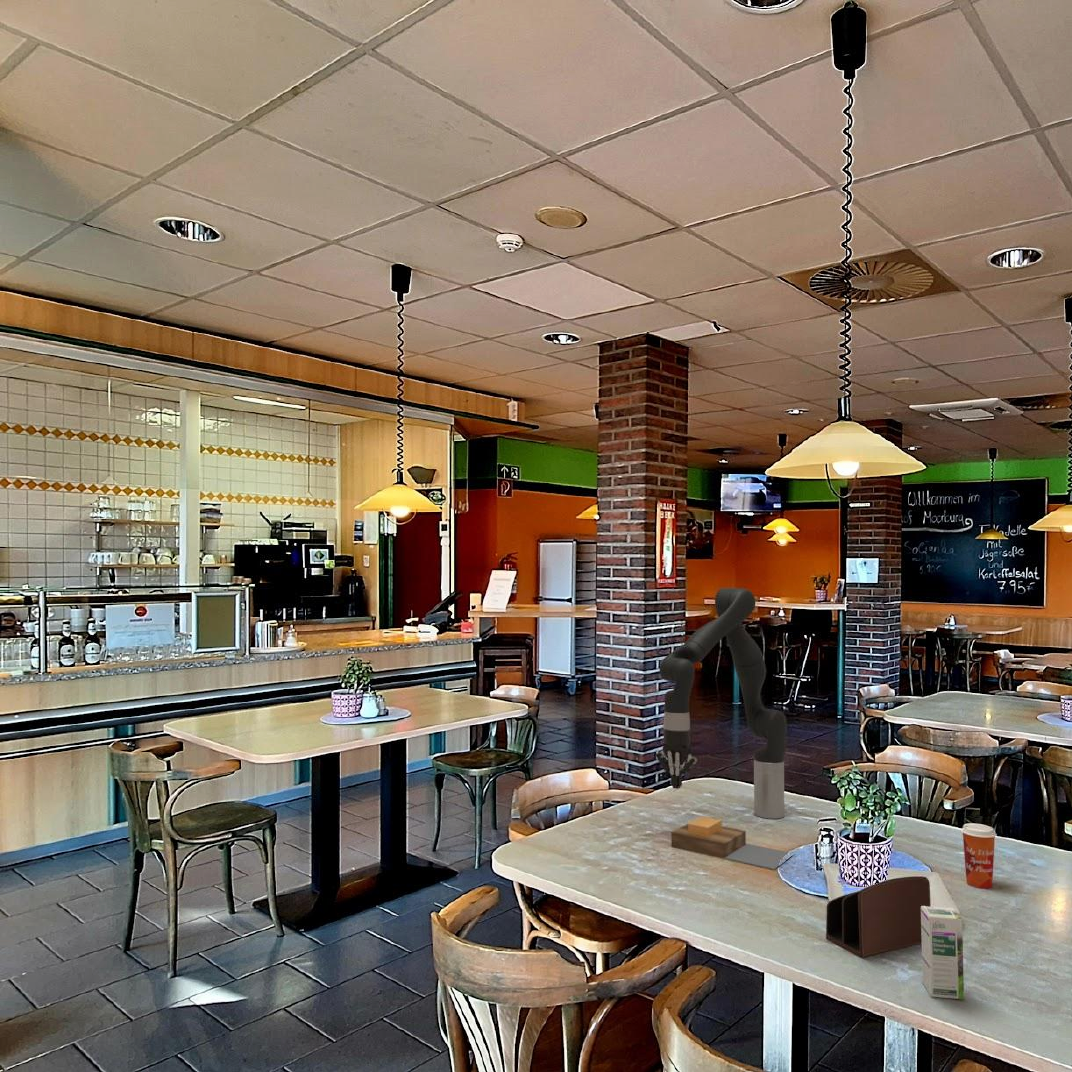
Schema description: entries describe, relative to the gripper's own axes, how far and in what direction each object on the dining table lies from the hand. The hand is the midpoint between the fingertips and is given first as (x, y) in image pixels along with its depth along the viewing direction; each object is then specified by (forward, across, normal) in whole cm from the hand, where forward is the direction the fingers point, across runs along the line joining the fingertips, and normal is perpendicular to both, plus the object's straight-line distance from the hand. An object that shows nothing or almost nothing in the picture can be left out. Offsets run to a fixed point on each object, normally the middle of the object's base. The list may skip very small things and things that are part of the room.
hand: (676, 787), depth 244 cm
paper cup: (+14, -76, -14) cm, 79 cm away
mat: (+14, -25, 0) cm, 29 cm away
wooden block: (+15, -10, 0) cm, 18 cm away
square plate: (+15, -60, +10) cm, 63 cm away
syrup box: (+15, -80, +50) cm, 95 cm away
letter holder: (+15, -65, +34) cm, 75 cm away
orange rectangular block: (+9, -9, 0) cm, 13 cm away
